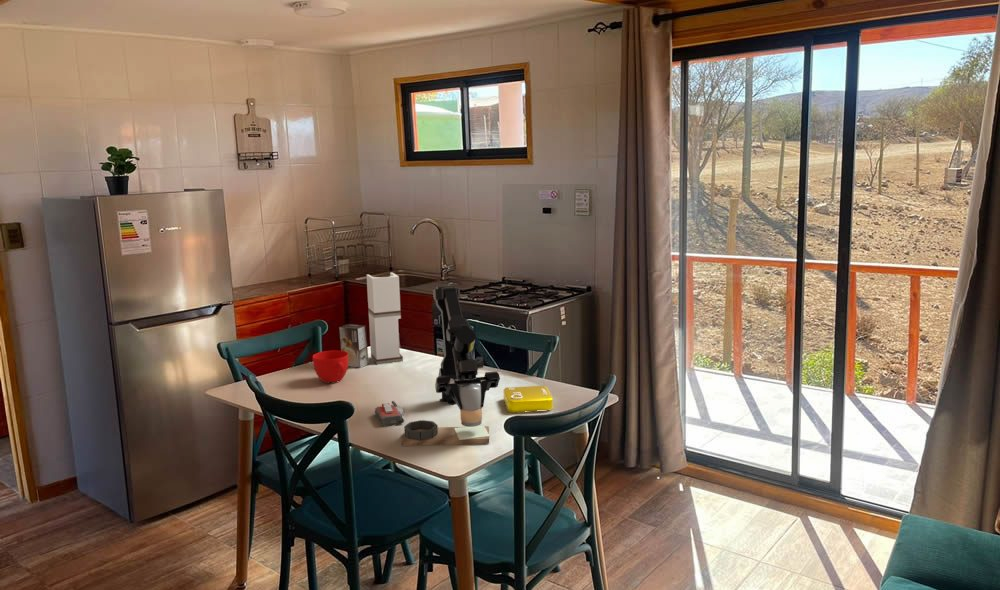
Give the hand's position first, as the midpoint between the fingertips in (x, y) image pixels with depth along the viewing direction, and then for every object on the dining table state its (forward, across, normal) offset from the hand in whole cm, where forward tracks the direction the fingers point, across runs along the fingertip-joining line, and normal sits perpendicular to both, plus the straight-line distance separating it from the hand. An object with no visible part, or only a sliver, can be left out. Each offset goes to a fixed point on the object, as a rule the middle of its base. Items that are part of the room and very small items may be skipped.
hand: (471, 407), depth 213 cm
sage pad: (+5, 0, +7) cm, 8 cm away
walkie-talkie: (-12, -22, +26) cm, 36 cm away
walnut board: (+5, -7, +9) cm, 12 cm away
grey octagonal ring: (+3, -15, +9) cm, 17 cm away
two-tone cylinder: (+3, 0, +4) cm, 5 cm away
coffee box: (-56, -30, +71) cm, 96 cm away
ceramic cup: (-42, -39, +56) cm, 80 cm away
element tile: (-10, +24, +25) cm, 36 cm away
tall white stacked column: (-60, -18, +74) cm, 97 cm away
